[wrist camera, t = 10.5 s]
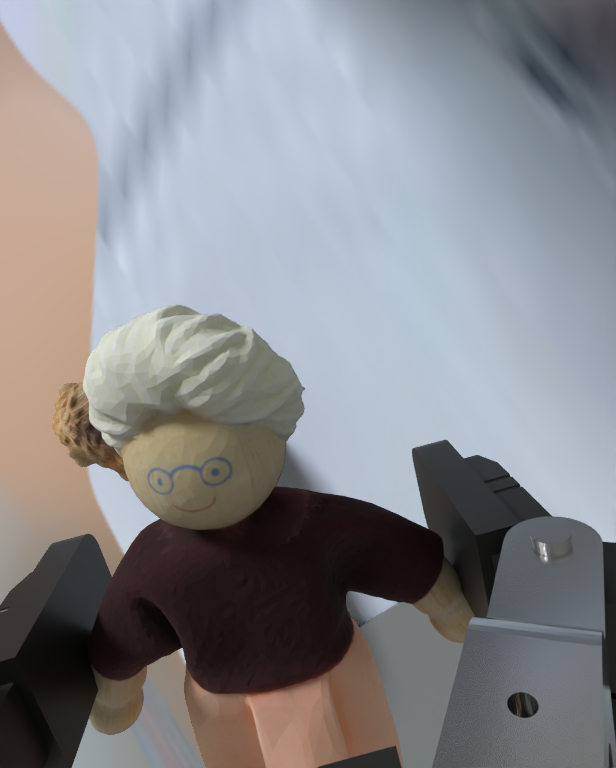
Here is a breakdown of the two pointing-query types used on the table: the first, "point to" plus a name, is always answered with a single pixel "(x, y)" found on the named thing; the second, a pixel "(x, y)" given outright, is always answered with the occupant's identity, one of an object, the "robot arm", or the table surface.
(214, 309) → the table surface
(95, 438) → the lion figurine
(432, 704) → the mat
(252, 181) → the table surface
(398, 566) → the grandmother figurine
